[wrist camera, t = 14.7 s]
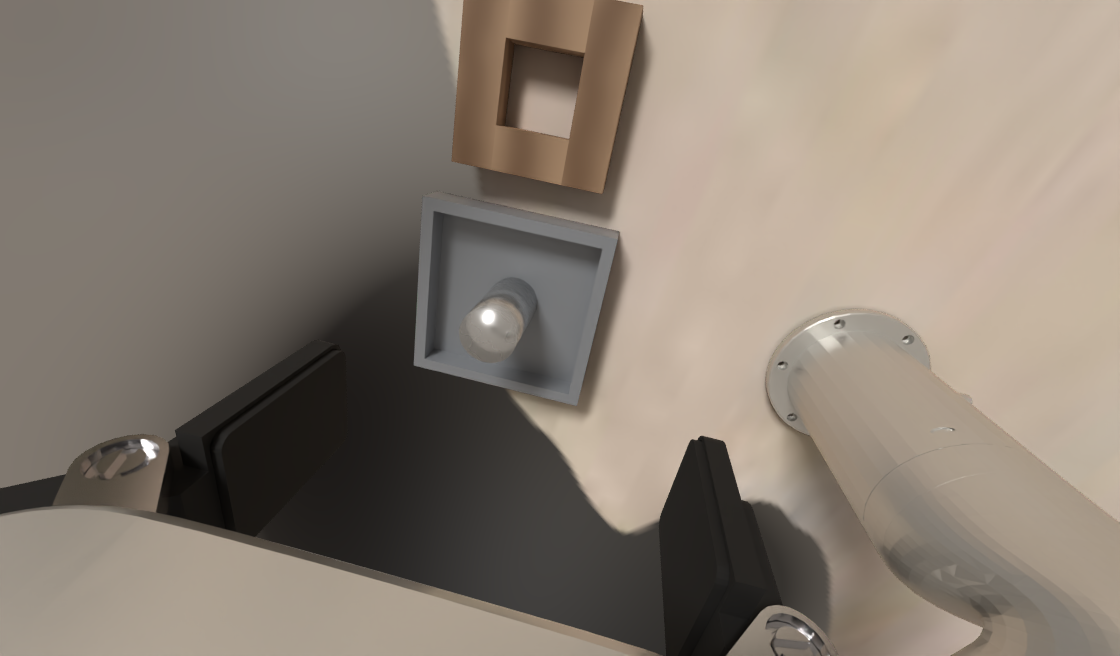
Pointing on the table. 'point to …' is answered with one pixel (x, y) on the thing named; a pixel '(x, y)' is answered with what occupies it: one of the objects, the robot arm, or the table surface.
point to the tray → (501, 252)
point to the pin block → (485, 71)
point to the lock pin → (498, 320)
